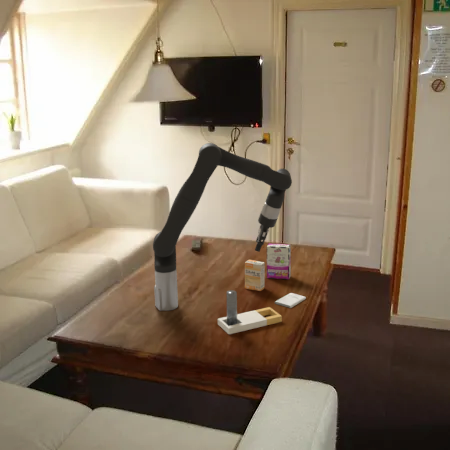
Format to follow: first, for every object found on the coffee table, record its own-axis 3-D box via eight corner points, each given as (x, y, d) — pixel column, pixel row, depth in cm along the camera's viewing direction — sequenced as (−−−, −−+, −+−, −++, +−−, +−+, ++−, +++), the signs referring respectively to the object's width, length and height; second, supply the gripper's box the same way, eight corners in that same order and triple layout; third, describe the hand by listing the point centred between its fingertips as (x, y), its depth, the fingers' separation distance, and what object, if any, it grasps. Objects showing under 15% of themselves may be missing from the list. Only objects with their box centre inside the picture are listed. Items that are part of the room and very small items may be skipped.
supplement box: (244, 288, 269) (244, 262, 266) (248, 285, 273) (248, 259, 270) (260, 291, 266) (260, 264, 262) (264, 288, 270) (264, 261, 266)
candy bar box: (290, 276, 284) (291, 244, 279) (289, 279, 279) (289, 247, 274) (268, 274, 286) (268, 242, 282) (266, 278, 282) (266, 246, 277)
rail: (228, 334, 226) (228, 328, 225) (217, 324, 234) (217, 318, 234) (281, 321, 235) (281, 316, 235) (269, 312, 244) (269, 306, 243)
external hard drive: (274, 304, 253) (290, 295, 262) (290, 309, 248) (306, 299, 257) (274, 301, 253) (290, 292, 262) (290, 305, 248) (306, 296, 257)
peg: (229, 330, 229) (229, 295, 225) (225, 326, 233) (224, 291, 228) (238, 328, 231) (238, 293, 226) (234, 324, 234) (233, 289, 230)
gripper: (262, 205, 252) (250, 236, 259) (260, 218, 239) (248, 251, 246) (278, 210, 252) (266, 242, 259) (277, 223, 239) (265, 256, 246)
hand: (257, 246), depth 252 cm, fingers open, 8 cm apart
